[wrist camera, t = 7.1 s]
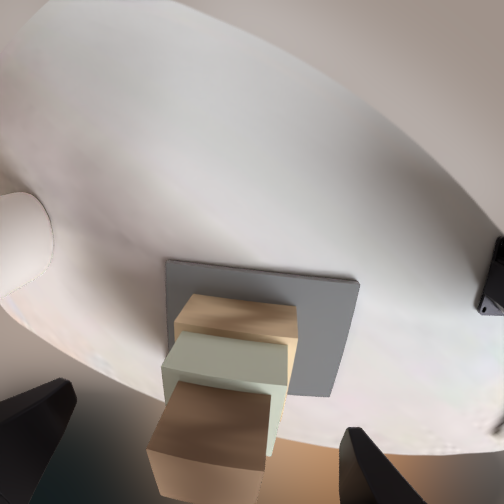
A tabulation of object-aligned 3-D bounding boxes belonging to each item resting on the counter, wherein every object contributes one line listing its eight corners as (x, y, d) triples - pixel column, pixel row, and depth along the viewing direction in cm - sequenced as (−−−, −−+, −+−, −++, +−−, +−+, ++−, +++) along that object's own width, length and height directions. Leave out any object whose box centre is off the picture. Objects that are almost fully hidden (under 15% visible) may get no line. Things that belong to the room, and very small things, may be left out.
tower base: (296, 306, 20) (298, 338, 16) (282, 384, 22) (280, 421, 18) (193, 293, 20) (174, 321, 17) (193, 372, 22) (179, 406, 19)
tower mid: (287, 345, 16) (287, 385, 13) (274, 416, 18) (271, 456, 15) (182, 330, 17) (161, 366, 13) (185, 402, 18) (170, 439, 15)
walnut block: (271, 395, 13) (264, 471, 9) (261, 448, 14) (253, 513, 10) (178, 380, 13) (146, 448, 9) (183, 435, 15) (160, 495, 10)
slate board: (358, 281, 20) (360, 284, 19) (328, 392, 22) (329, 397, 22) (168, 259, 20) (165, 262, 20) (173, 372, 23) (170, 376, 23)
